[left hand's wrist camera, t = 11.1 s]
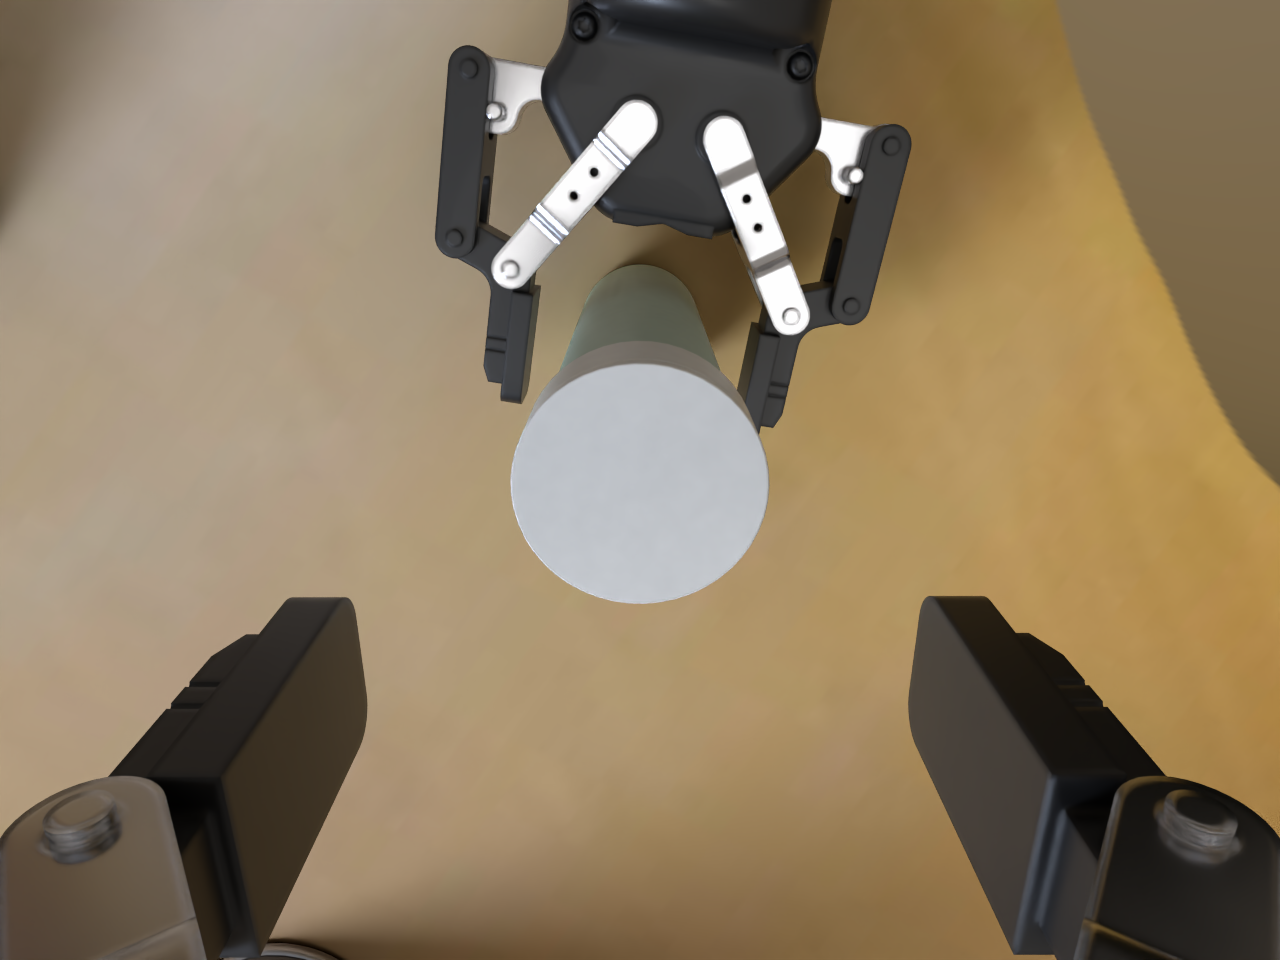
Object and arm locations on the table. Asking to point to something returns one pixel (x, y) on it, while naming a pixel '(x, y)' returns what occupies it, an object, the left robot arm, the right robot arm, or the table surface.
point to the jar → (639, 314)
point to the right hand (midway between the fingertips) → (630, 415)
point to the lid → (639, 474)
